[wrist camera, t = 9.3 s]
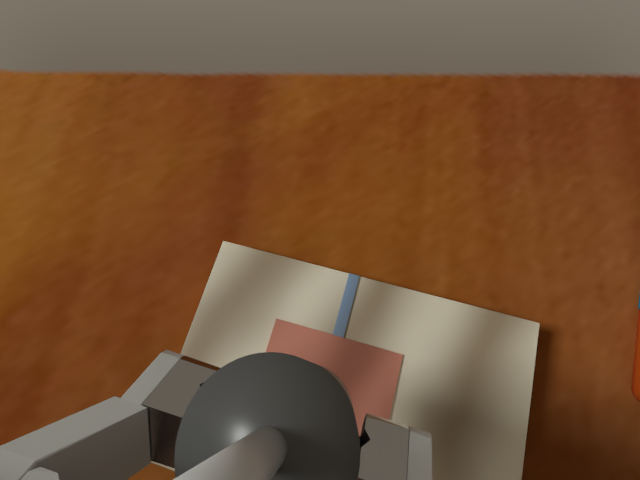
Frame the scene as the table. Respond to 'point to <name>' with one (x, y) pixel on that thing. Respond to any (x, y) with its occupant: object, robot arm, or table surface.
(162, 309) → the table surface
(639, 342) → the phone
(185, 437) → the grey cylinder with rod
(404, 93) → the table surface
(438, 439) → the cream flat block
